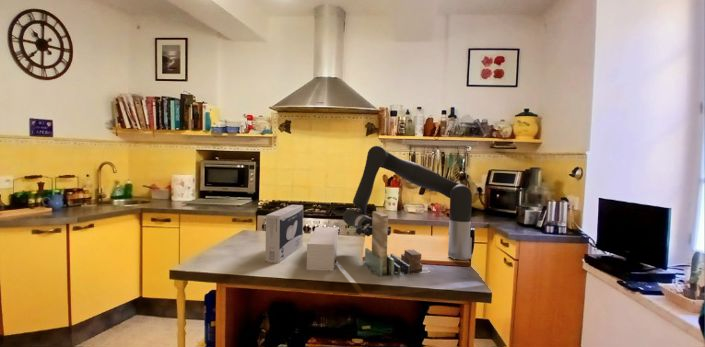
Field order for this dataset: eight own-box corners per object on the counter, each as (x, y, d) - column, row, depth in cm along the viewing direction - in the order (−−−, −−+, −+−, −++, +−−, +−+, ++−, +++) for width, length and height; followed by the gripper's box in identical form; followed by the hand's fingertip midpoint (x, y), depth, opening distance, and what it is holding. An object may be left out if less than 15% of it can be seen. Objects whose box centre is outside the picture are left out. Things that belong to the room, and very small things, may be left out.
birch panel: (377, 264, 151) (378, 211, 149) (386, 272, 141) (388, 215, 140) (371, 265, 150) (372, 211, 149) (380, 273, 140) (381, 215, 139)
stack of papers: (333, 271, 147) (334, 244, 146) (306, 270, 147) (307, 243, 146) (337, 249, 179) (338, 227, 178) (315, 248, 179) (315, 226, 178)
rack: (412, 262, 160) (413, 245, 159) (432, 275, 144) (432, 256, 143) (363, 266, 153) (363, 248, 153) (377, 280, 137) (378, 260, 136)
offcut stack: (412, 262, 155) (412, 248, 154) (422, 269, 146) (422, 254, 146) (400, 263, 153) (401, 249, 153) (410, 270, 145) (410, 255, 144)
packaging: (278, 263, 155) (279, 215, 154) (265, 261, 156) (265, 215, 155) (302, 245, 185) (303, 205, 183) (291, 244, 186) (291, 204, 185)
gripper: (350, 216, 158) (362, 224, 143) (381, 215, 163) (396, 223, 147) (349, 234, 159) (361, 243, 143) (380, 232, 163) (395, 241, 148)
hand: (379, 233), depth 145 cm, fingers open, 8 cm apart
